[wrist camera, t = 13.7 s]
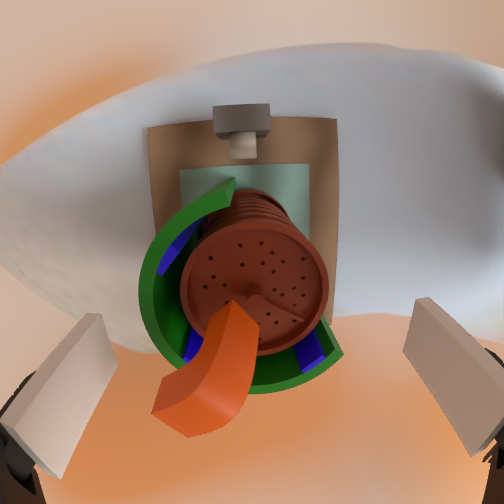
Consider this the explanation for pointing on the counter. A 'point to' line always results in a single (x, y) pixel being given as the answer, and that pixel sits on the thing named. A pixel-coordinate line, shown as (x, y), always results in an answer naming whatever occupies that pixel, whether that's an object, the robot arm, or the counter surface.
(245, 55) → the counter surface
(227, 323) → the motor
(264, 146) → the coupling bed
